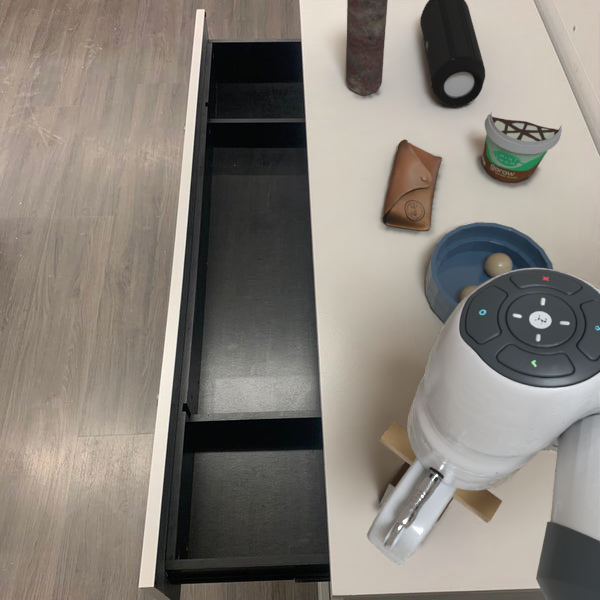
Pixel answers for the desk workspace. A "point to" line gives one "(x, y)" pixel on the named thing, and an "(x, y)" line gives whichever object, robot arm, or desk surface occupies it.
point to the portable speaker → (452, 52)
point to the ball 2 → (498, 264)
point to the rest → (396, 481)
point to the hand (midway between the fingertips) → (438, 470)
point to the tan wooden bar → (474, 500)
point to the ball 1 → (466, 292)
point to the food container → (515, 148)
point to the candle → (365, 44)
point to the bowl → (475, 260)
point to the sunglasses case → (411, 188)
